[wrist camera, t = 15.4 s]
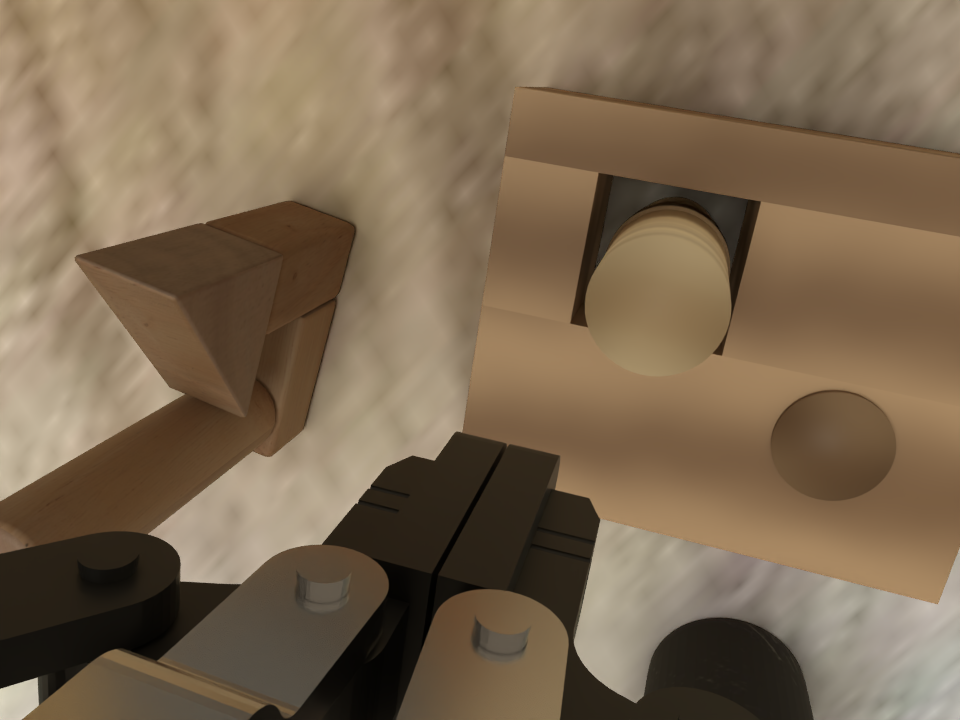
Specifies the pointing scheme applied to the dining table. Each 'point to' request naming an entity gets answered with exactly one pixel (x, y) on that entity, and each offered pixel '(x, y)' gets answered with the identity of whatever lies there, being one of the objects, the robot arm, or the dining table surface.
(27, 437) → the dining table surface
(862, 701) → the dining table surface
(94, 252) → the wooden block
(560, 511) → the robot arm
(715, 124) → the seat block
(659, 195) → the dining table surface
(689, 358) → the peg
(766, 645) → the travel mug
